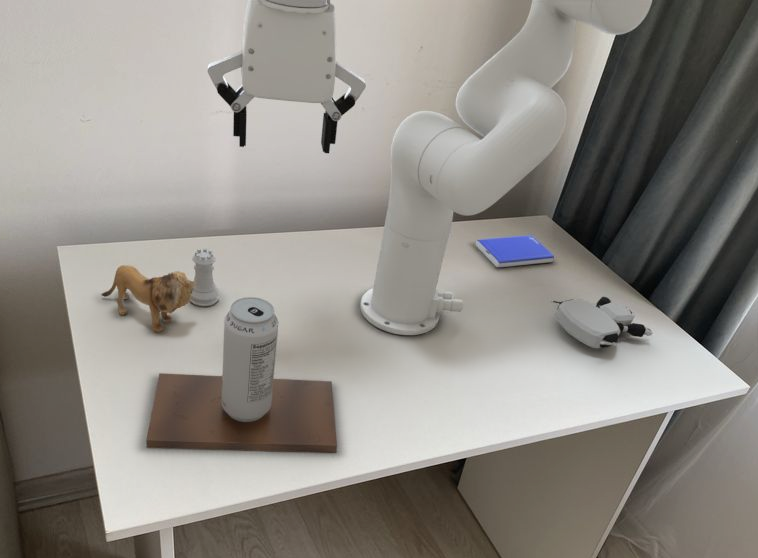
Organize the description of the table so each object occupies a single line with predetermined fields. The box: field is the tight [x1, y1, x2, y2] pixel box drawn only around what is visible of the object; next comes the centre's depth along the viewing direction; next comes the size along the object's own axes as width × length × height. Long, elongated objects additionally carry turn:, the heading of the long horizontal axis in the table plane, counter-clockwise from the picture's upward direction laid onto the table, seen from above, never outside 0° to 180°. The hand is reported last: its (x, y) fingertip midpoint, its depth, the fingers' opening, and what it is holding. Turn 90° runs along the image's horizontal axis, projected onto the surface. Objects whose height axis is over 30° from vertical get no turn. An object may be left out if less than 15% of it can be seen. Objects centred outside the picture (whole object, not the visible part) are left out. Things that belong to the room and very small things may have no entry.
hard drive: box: [475, 234, 555, 268], centre depth 138 cm, size 2×8×12 cm
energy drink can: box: [221, 296, 280, 422], centre depth 86 cm, size 6×6×15 cm
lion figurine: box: [100, 264, 195, 333], centre depth 101 cm, size 15×5×9 cm, turn 70°
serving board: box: [145, 372, 338, 453], centre depth 91 cm, size 22×12×1 cm, turn 98°
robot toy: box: [548, 295, 653, 349], centre depth 120 cm, size 12×4×15 cm
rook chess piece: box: [189, 248, 220, 307], centre depth 107 cm, size 4×4×8 cm
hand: (284, 145), depth 86 cm, fingers open, 9 cm apart
